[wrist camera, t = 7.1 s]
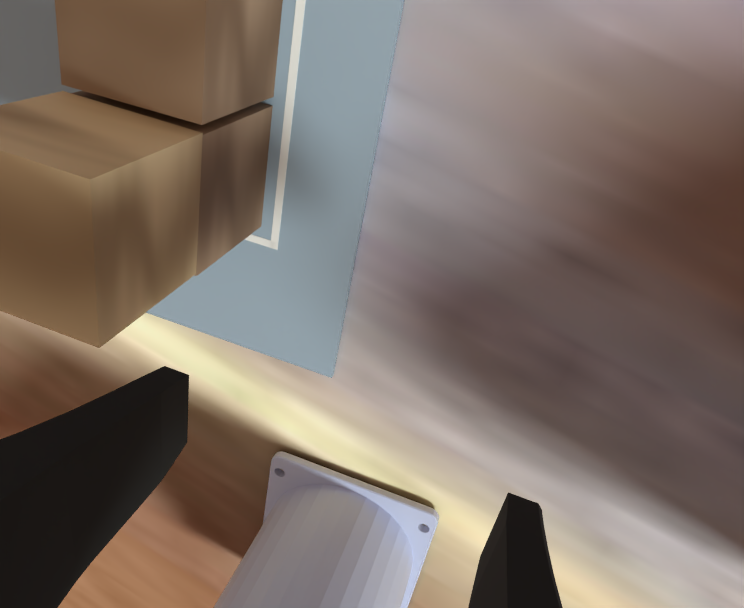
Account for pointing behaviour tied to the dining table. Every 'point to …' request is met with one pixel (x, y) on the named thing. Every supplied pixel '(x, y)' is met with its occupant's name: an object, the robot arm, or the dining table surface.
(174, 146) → the oak block
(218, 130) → the walnut block
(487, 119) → the dining table surface
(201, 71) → the walnut block
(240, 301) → the blueprint mat
